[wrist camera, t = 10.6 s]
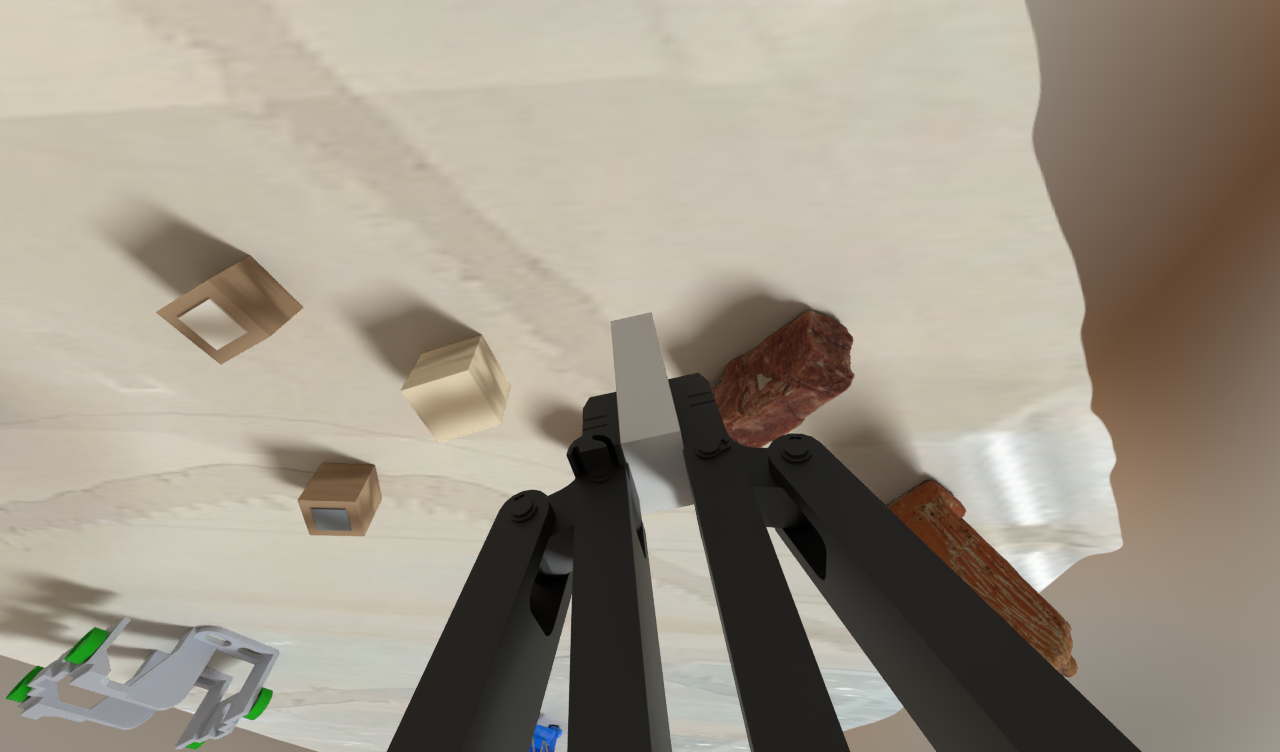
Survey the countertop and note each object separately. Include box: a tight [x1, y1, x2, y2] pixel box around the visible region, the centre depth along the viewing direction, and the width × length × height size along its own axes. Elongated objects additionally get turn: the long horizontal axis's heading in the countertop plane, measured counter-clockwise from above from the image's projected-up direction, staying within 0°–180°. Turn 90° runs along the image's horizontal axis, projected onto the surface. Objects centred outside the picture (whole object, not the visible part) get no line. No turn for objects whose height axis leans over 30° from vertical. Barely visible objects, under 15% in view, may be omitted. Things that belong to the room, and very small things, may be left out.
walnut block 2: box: [298, 463, 382, 536], centre depth 58 cm, size 6×6×6 cm
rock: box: [712, 310, 854, 448], centre depth 52 cm, size 18×6×9 cm, turn 134°
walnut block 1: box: [156, 255, 303, 365], centre depth 43 cm, size 6×6×6 cm
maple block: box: [401, 335, 511, 443], centre depth 50 cm, size 7×7×7 cm
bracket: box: [6, 617, 280, 750], centre depth 72 cm, size 19×25×10 cm
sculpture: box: [887, 480, 1078, 677], centre depth 60 cm, size 13×9×30 cm
